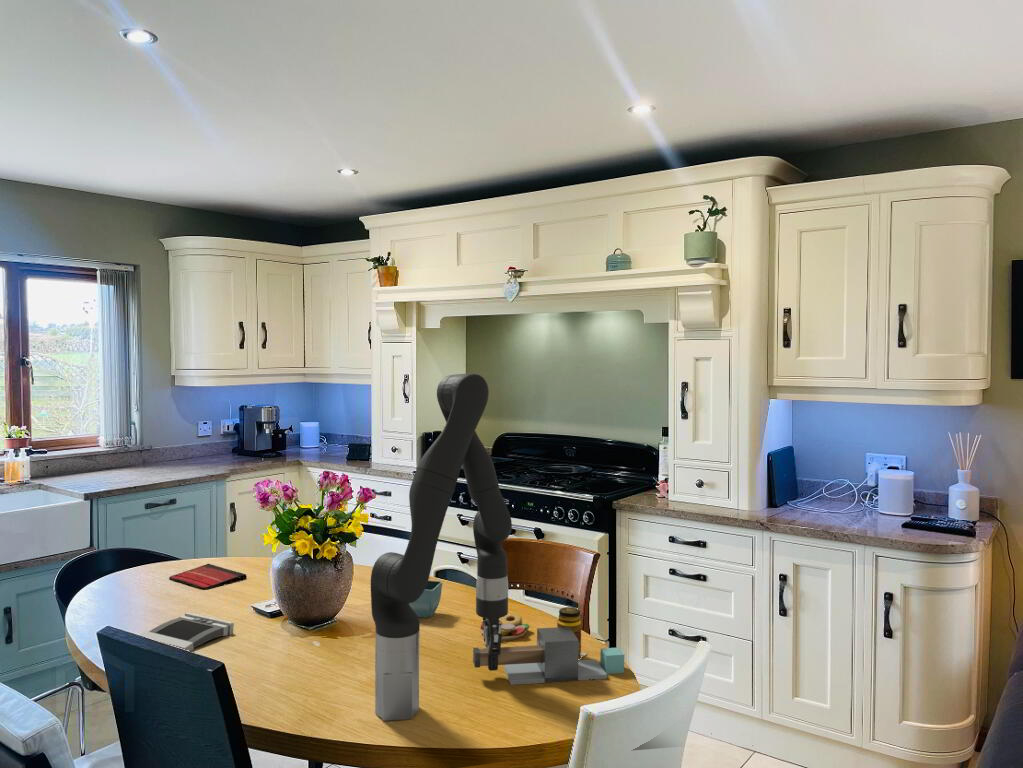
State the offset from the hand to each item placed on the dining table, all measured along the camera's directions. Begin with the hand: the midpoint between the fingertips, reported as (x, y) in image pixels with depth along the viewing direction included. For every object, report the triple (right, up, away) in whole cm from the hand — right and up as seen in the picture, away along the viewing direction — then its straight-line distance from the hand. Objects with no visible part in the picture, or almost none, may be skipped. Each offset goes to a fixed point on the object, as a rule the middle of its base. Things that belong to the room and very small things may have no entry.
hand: (491, 666), depth 180 cm
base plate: (+15, -3, +3) cm, 15 cm away
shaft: (+7, +1, +1) cm, 7 cm away
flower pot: (-21, -1, +43) cm, 47 cm away
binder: (-97, +1, +75) cm, 123 cm away
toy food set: (+3, -2, +29) cm, 30 cm away
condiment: (+18, -3, +14) cm, 23 cm away
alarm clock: (-81, -2, +23) cm, 85 cm away
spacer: (+29, +2, +5) cm, 30 cm away
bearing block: (+15, -3, +3) cm, 16 cm away
